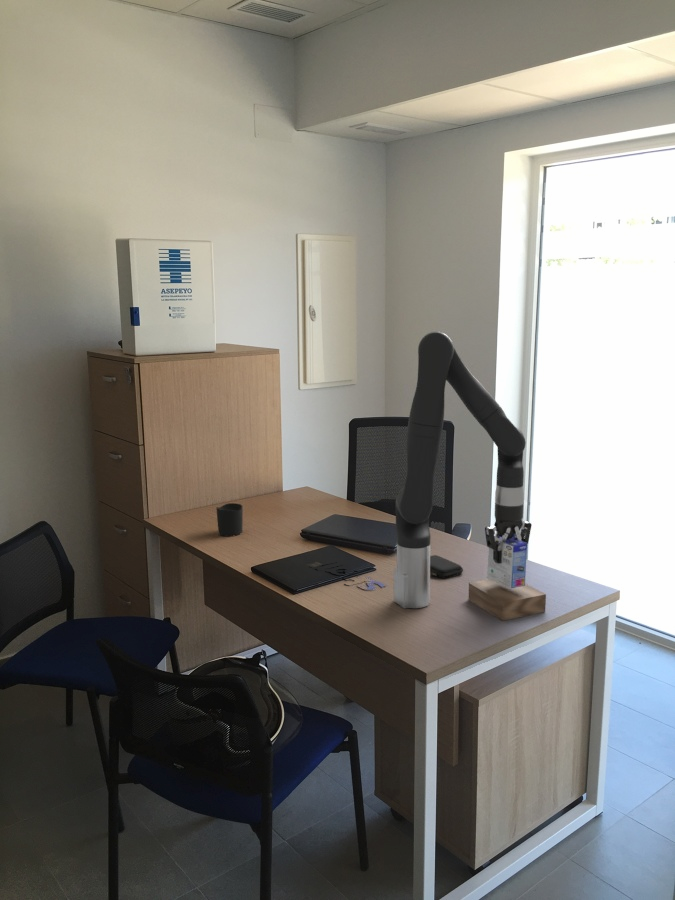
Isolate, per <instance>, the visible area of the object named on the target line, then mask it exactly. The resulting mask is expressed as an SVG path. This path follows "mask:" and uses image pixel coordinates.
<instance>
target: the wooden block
mask: <svg viewBox="0 0 675 900" xmlns="http://www.w3.org/2000/svg"><path fill="white" fill-rule="evenodd" d="M546 600H547V594H546V593H545V592H542V591H540V590H539V589H538V588H535V587H534V586H531V585H529V584H527V583H526V582H525V586H520V587H515V588H509V587H506V586H504V585H502V584H499V583H497V582H495V581H492V580H490V579H488V578H487V579H483V580H478V581H472V582H468V601H470V602H471V603H473V604H475V605H476V606H478V607H479V608H481V609H483V610H484V611H486V612H488V613H489V614H491V615H493V616H494V617H496V618H498V619H499V620H501V621H508V620H512V619H517V618H521V617H523V618H524V617H526V616H532V615H536V614H541V613H545V612H546V604H547V601H546Z"/></svg>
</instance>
